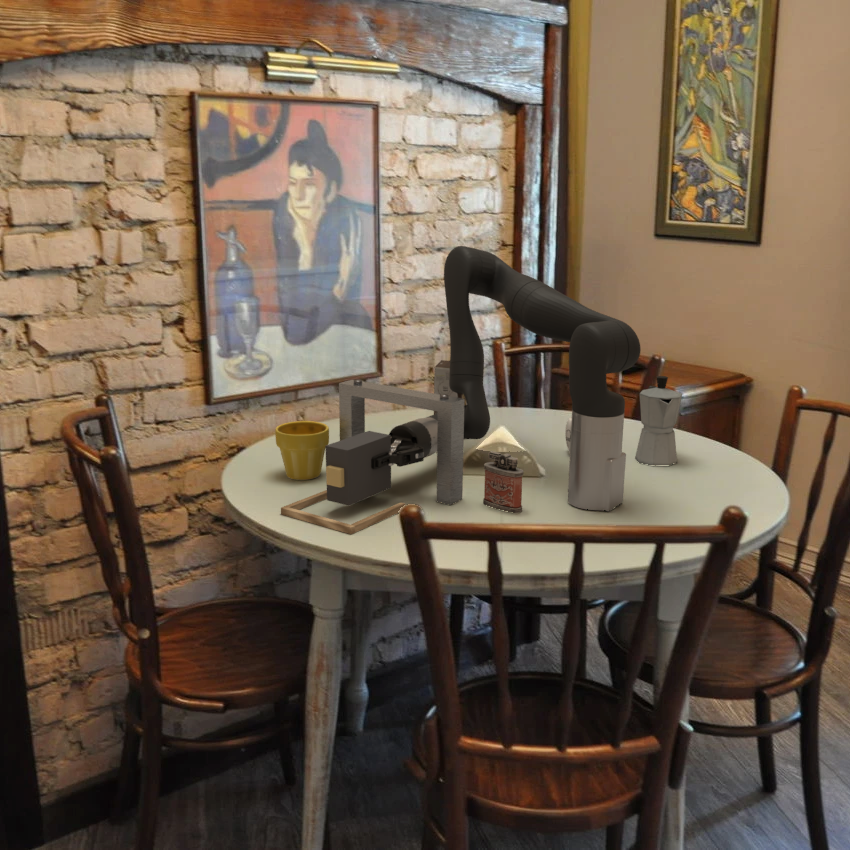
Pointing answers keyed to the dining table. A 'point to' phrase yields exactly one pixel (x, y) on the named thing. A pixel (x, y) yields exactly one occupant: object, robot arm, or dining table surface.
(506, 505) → the lighter
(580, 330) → the robot arm
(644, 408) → the coffee maker
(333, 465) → the dark grey box
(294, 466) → the plant pot
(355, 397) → the grey metal arch
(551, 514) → the dining table surface
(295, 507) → the bay
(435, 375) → the coffee box
